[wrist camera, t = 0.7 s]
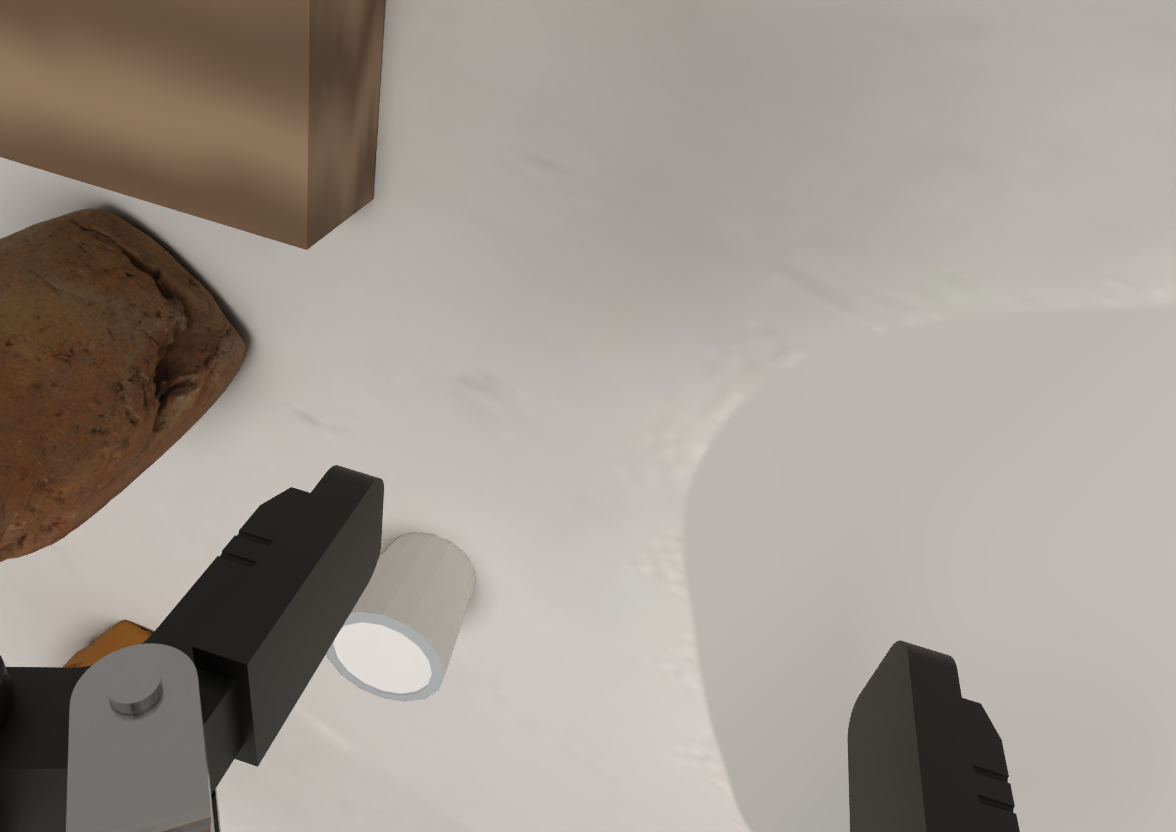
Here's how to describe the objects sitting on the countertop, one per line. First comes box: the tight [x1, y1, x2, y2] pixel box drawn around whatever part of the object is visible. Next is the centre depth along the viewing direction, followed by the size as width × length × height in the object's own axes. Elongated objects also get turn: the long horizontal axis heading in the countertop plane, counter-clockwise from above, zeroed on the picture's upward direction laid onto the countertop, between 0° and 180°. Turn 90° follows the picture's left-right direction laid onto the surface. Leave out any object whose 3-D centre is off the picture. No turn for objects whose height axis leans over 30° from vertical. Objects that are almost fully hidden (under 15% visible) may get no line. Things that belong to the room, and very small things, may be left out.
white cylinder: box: [326, 533, 476, 702], centre depth 47 cm, size 7×7×7 cm
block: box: [0, 209, 246, 562], centre depth 35 cm, size 11×8×20 cm
